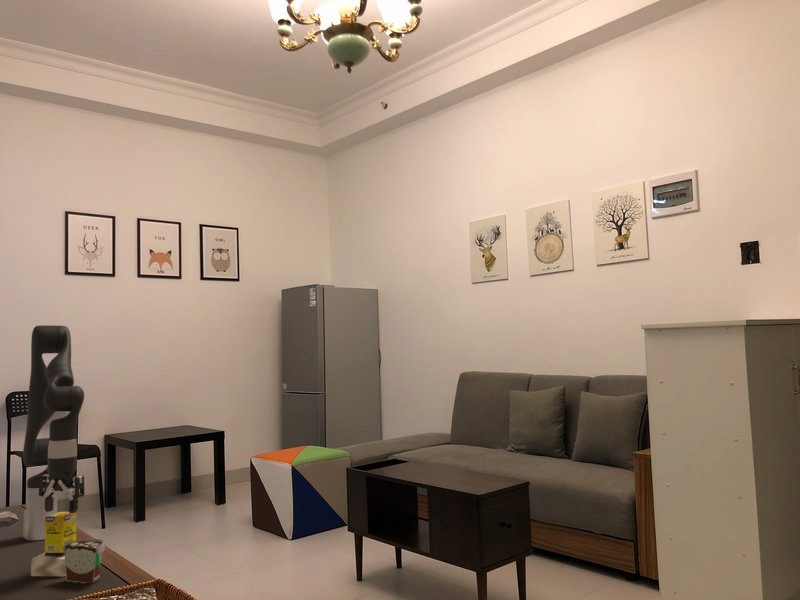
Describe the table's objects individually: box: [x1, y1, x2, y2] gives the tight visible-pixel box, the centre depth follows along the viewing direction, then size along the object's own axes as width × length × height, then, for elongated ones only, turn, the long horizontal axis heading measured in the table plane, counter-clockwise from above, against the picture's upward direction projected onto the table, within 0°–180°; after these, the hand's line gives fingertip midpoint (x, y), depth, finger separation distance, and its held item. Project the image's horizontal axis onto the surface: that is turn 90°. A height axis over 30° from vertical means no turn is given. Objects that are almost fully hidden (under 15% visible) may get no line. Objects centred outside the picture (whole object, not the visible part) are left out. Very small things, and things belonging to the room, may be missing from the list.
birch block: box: [30, 552, 66, 577], centre depth 181 cm, size 10×10×5 cm
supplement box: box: [44, 511, 77, 556], centre depth 182 cm, size 6×6×11 cm
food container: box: [63, 538, 106, 584], centre depth 174 cm, size 12×6×10 cm, turn 71°
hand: (60, 512), depth 183 cm, fingers open, 8 cm apart
